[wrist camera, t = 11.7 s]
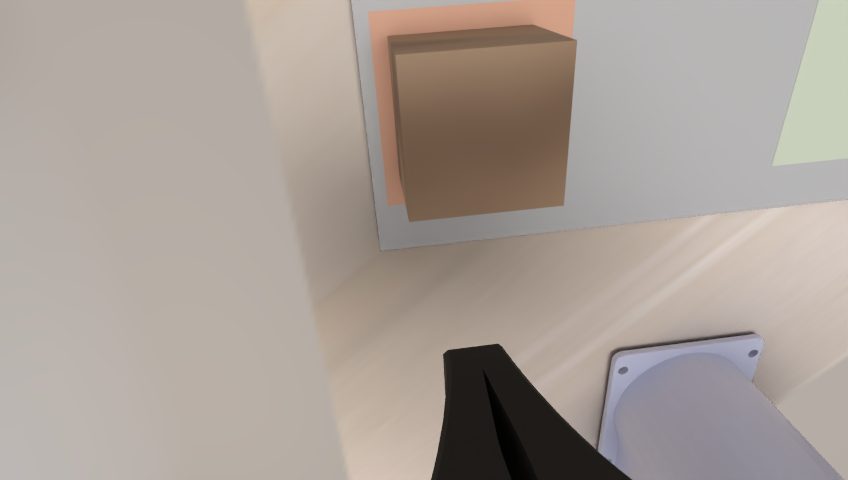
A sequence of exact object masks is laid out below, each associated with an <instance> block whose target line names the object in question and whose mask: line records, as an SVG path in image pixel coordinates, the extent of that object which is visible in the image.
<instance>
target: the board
mask: <svg viewBox="0 0 848 480" xmlns="http://www.w3.org/2000/svg"><path fill="white" fill-rule="evenodd" d="M351 4H352V12H353V21H354V29H355V38H356V47H357V55H358V64H359V72H360V81H361V90H362V98H363V107H364V115H365V124H366V133H367V141H368V150H369V158H370V167H371V176H372V184H373V193H374V201H375V210H376V219H377V227H378V236H379V244H380V251H386V250H395V249H404V248H413V247H422V246H431V245H440V244H449V243H458V242H468V241H477V240H486V239H495V238H504V237H513V236H522V235H531V234H540V233H549V232H558V231H567V230H577V229H586V228H595V227H604V226H613V225H622V224H631V223H640V222H649V221H658V220H667V219H677V218H686V217H695V216H704V215H713V214H722V213H731V212H740V211H749V210H758V209H767V208H777V207H786V206H795V205H804V204H813V203H822V202H831V201H840V200H848V0H351ZM520 25H536V26H539V27H542V28H544V29H547V30H550V31H553V32H556V33H558V34H561V35H564V36H567V37H570V38H572V39H575V40H577V50H576V62H575V75H574V87H573V99H572V112H571V124H570V136H569V149H568V161H567V173H566V186H565V198H564V206H556V207H547V208H537V209H528V210H518V211H509V212H499V213H490V214H480V215H471V216H462V217H452V218H443V219H433V220H424V221H414V222H409V219H408V214H407V209H406V205H405V200H404V195H403V190H402V185H401V180H400V176H399V164H398V153H397V141H396V130H395V119H394V107H393V96H392V84H391V73H390V61H389V50H388V38H387V36H392V35H405V34H418V33H430V32H443V31H456V30H469V29H482V28H494V27H507V26H520Z"/></svg>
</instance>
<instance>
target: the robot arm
mask: <svg viewBox="0 0 848 480" xmlns="http://www.w3.org/2000/svg"><path fill="white" fill-rule="evenodd" d="M763 346H764V340H763V339H762V338H761V337H760V336H759V335H757V334H750V335H743V336H735V337H727V338H719V339H712V340H704V341H696V342H688V343H681V344H673V345H665V346H657V347H650V348H642V349H634V350H626V351H620V352H618V353H616V354H615V355H614V356H613V358H612V361H611V368H610V374H609V381H608V387H607V393H606V400H605V406H604V413H603V419H602V426H601V432H600V439H599V445H598V451H597V450H596V449H595V448H594V447H593V446H591V445H590V444H589V443H588V442H587V441H586V440H585V439H584V438H583V437H582V436H581V435H580V434H579V433H578V432H577V431H576V430H575V429H573V428H572V427H571V426H570V425H569V424H568V423H567V422H566V421H565V420H564V419H563V418H562V417H561V416H560V415H559V414H558V412H557V411H556V410H555V409H554V408H553V407H552V406H551V405H550V404H549V403H548V402H547V401H546V400H545V398H544V397H543V396H542V395H541V394H540V393H539V392H538V391H537V390H536V388H535V387H534V386H533V385H532V384H531V383H530V382H529V380H528V379H527V378H526V377H525V376H524V374H523V373H522V372H521V371H520V369H519V368H518V367H517V366H516V364H515V363H514V362H513V361H512V359H511V358H510V357H509V355H508V354H507V353H506V351H505V350H504V349H503V347H502V346H500V345H499V344H492V345H484V346H477V347H469V348H461V349H453V350H447V351H446V352H445V353H444V354H443V358H444V377H445V395H446V399H445V409H444V418H443V425H442V431H441V436H440V442H439V447H438V453H437V457H436V462H435V466H434V470H433V474H432V478H431V480H844V479H843V478H842V477H841V476H840V475H839V474H838V473H837V472H836V471H835V470H834V469H833V468H832V467H831V465H830V464H829V463H828V462H827V461H826V460H825V459H824V458H823V457H822V456H821V455H820V454H819V453H818V452H817V450H815V449H814V447H813V446H812V445H811V444H810V443H809V442H808V441H807V440H806V439H805V438H804V437H803V436H802V435H801V433H800V432H799V431H798V430H797V429H796V428H795V427H794V426H793V425H792V424H791V423H790V422H789V421H788V420H787V419H786V418H785V417H784V416H783V414H782V413H781V412H780V411H779V410H778V409H777V408H776V407H775V406H774V405H773V404H772V403H771V402H770V401H769V400H768V398H767V397H766V396H765V395H764V394H763V393H762V392H761V391H760V390H759V389H758V388H757V387H756V386H755V385H754V384H753V383H752V379H753V376H754V373H755V370H756V367H757V364H758V361H759V358H760V355H761V352H762V349H763ZM621 367H623V368H621ZM620 368H621V369H620Z"/></svg>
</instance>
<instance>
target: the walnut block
mask: <svg viewBox="0 0 848 480" xmlns="http://www.w3.org/2000/svg"><path fill="white" fill-rule="evenodd" d="M387 38H388V50H389V61H390V73H391V84H392V96H393V107H394V119H395V130H396V141H397V153H398V164H399V176H400V180H401V185H402V190H403V195H404V200H405V205H406V209H407V214H408V219H409V222H414V221H424V220H433V219H443V218H452V217H462V216H471V215H480V214H490V213H499V212H509V211H518V210H528V209H537V208H547V207H556V206H564V198H565V186H566V173H567V161H568V149H569V136H570V124H571V112H572V99H573V87H574V75H575V62H576V50H577V40H575V39H572V38H570V37H567V36H564V35H561V34H558V33H556V32H553V31H550V30H547V29H544V28H542V27H539V26H536V25H520V26H507V27H494V28H482V29H469V30H456V31H443V32H430V33H418V34H405V35H392V36H387Z"/></svg>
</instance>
